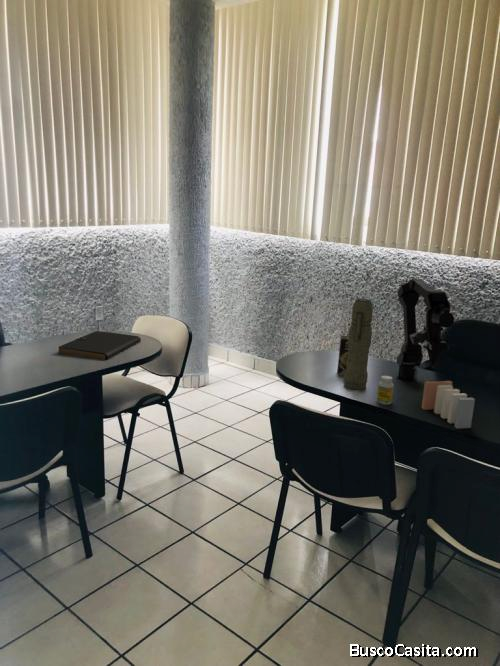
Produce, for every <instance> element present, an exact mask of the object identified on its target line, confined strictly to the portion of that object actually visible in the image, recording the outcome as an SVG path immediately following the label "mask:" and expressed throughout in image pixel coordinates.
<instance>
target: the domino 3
mask: <svg viewBox="0 0 500 666" xmlns="http://www.w3.org/2000/svg"><path fill="white" fill-rule="evenodd" d="M460 392H461V390H460V389H458V388H453V389H444V395H443V402H442V409H441V414H440V418H441V419H443V420H444V419H448V413H449V406H450V399H451V394H457V393H460Z"/></svg>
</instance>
